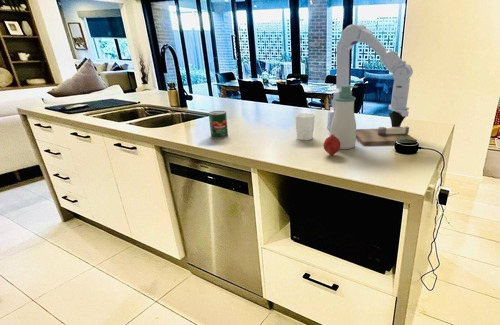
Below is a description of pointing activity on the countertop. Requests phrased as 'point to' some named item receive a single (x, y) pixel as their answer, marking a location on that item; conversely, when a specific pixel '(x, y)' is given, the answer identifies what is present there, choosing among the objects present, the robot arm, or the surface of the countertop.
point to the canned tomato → (218, 124)
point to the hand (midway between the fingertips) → (395, 130)
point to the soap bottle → (344, 118)
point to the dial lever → (393, 130)
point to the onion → (332, 145)
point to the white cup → (305, 126)
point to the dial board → (379, 137)
